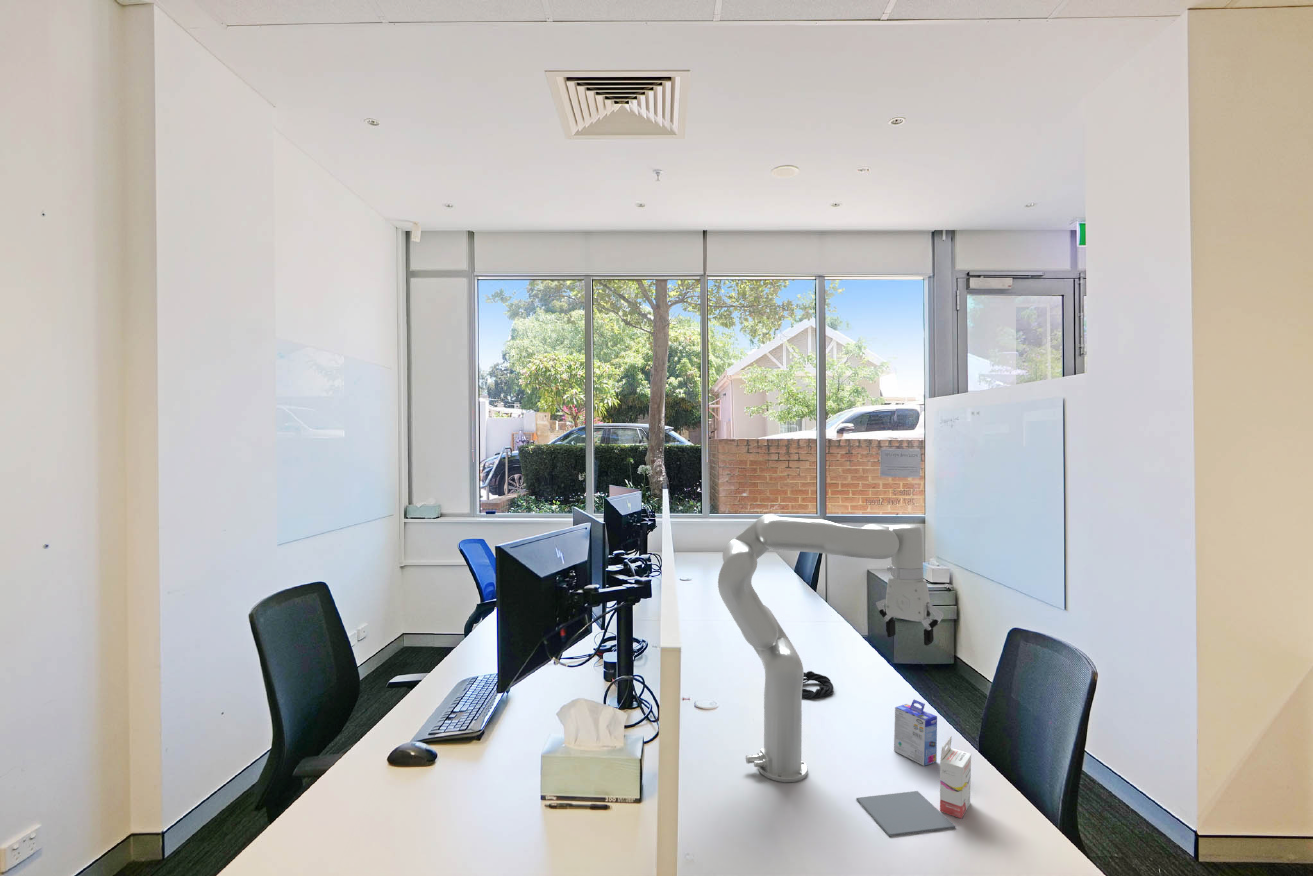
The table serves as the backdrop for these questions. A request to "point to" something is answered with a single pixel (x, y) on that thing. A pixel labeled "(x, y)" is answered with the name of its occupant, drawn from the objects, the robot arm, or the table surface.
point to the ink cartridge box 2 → (954, 780)
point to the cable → (822, 690)
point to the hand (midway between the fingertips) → (909, 640)
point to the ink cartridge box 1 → (915, 733)
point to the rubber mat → (904, 813)
